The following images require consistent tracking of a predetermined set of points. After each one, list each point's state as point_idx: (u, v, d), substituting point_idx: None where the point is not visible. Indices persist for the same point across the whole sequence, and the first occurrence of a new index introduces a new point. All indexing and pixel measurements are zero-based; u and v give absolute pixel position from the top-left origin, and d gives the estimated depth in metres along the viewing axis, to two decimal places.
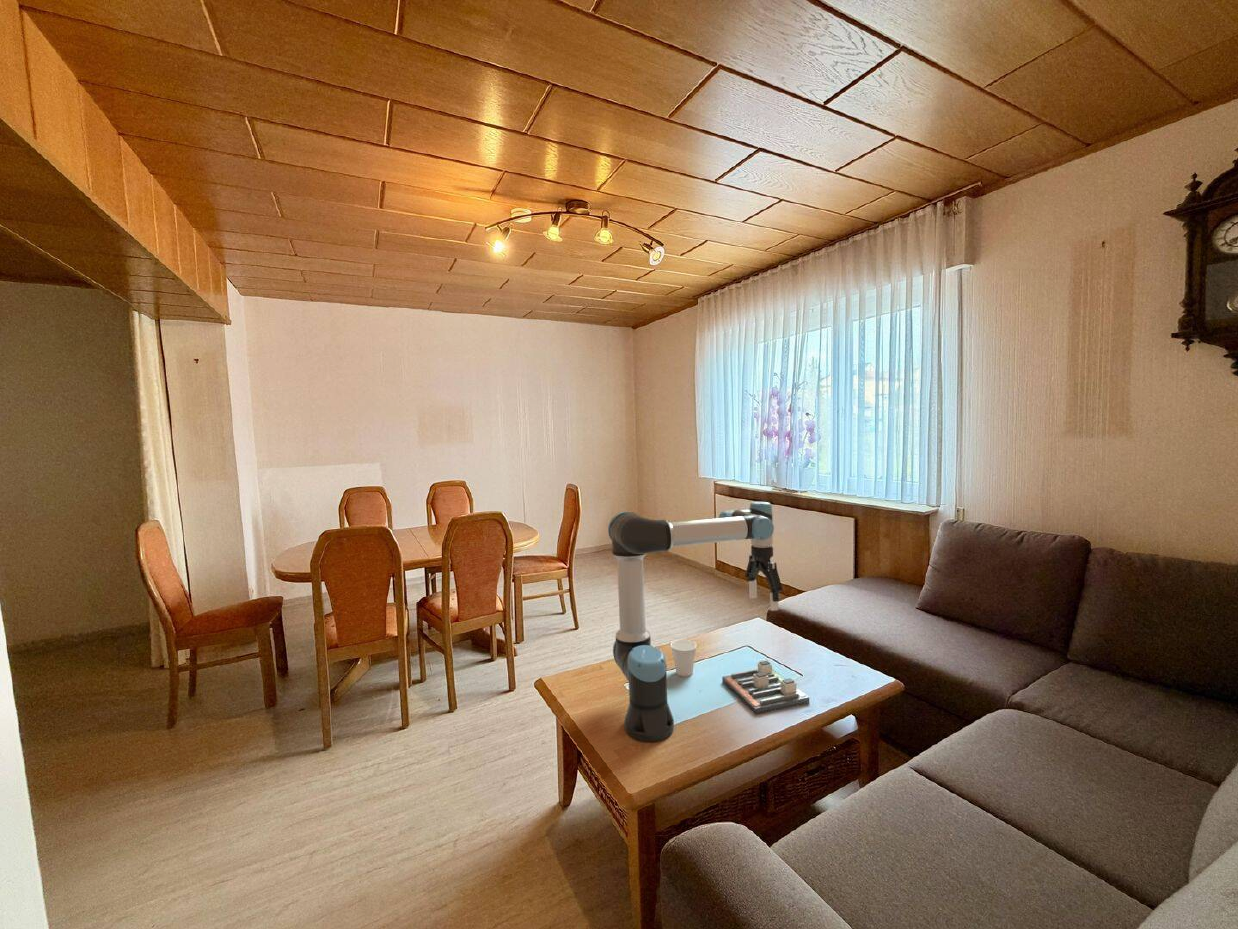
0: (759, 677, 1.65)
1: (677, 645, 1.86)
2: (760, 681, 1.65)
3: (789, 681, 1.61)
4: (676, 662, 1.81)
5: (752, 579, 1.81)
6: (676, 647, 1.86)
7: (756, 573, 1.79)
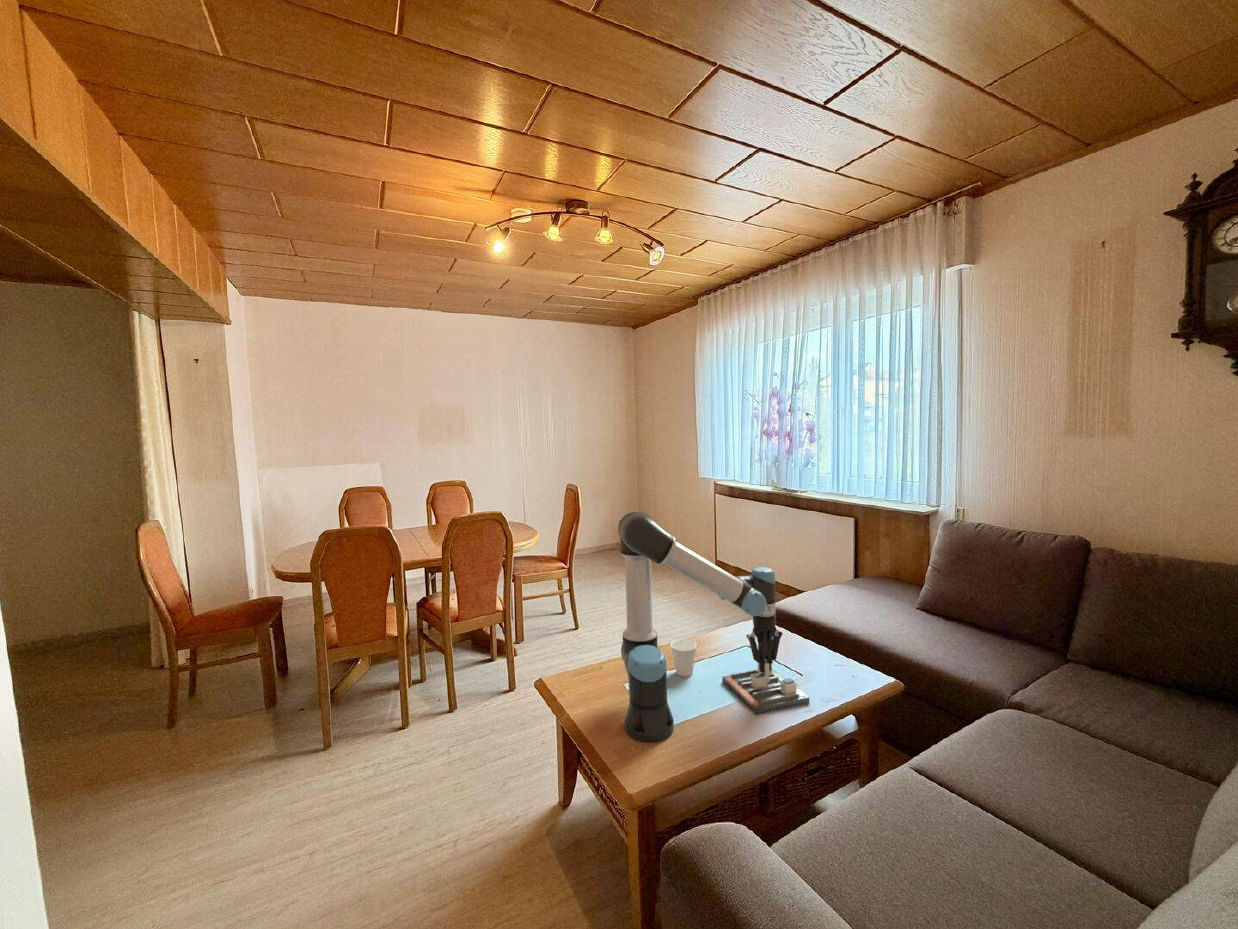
0: (756, 677, 1.65)
1: (677, 645, 1.86)
2: (758, 682, 1.65)
3: (789, 681, 1.61)
4: (676, 662, 1.81)
5: (767, 660, 1.67)
6: (676, 647, 1.86)
7: (767, 649, 1.67)
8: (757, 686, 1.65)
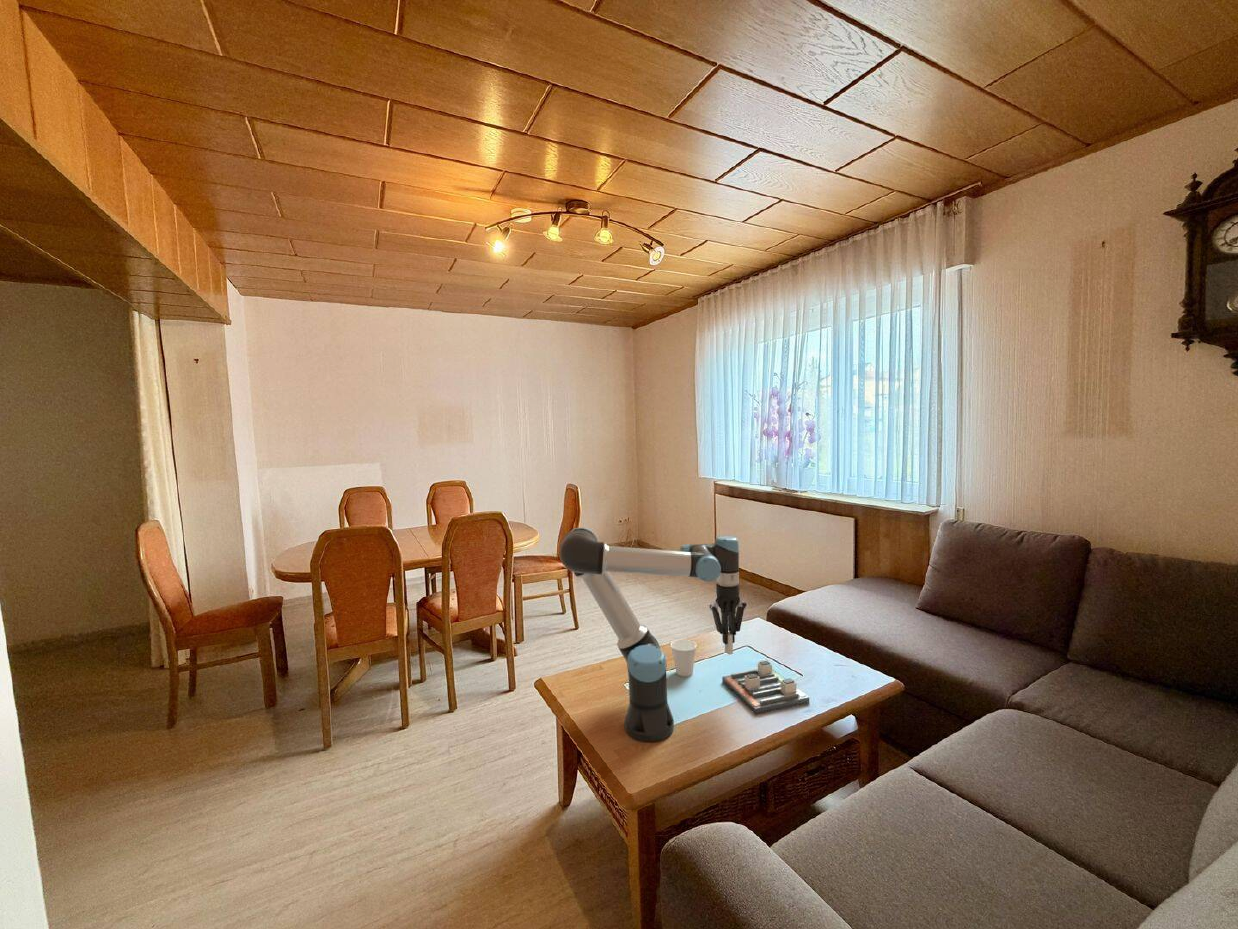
0: (750, 679, 1.64)
1: (677, 645, 1.86)
2: (751, 683, 1.64)
3: (789, 681, 1.61)
4: (676, 662, 1.81)
5: (730, 632, 1.63)
6: (676, 647, 1.86)
7: (730, 620, 1.62)
8: (751, 687, 1.64)
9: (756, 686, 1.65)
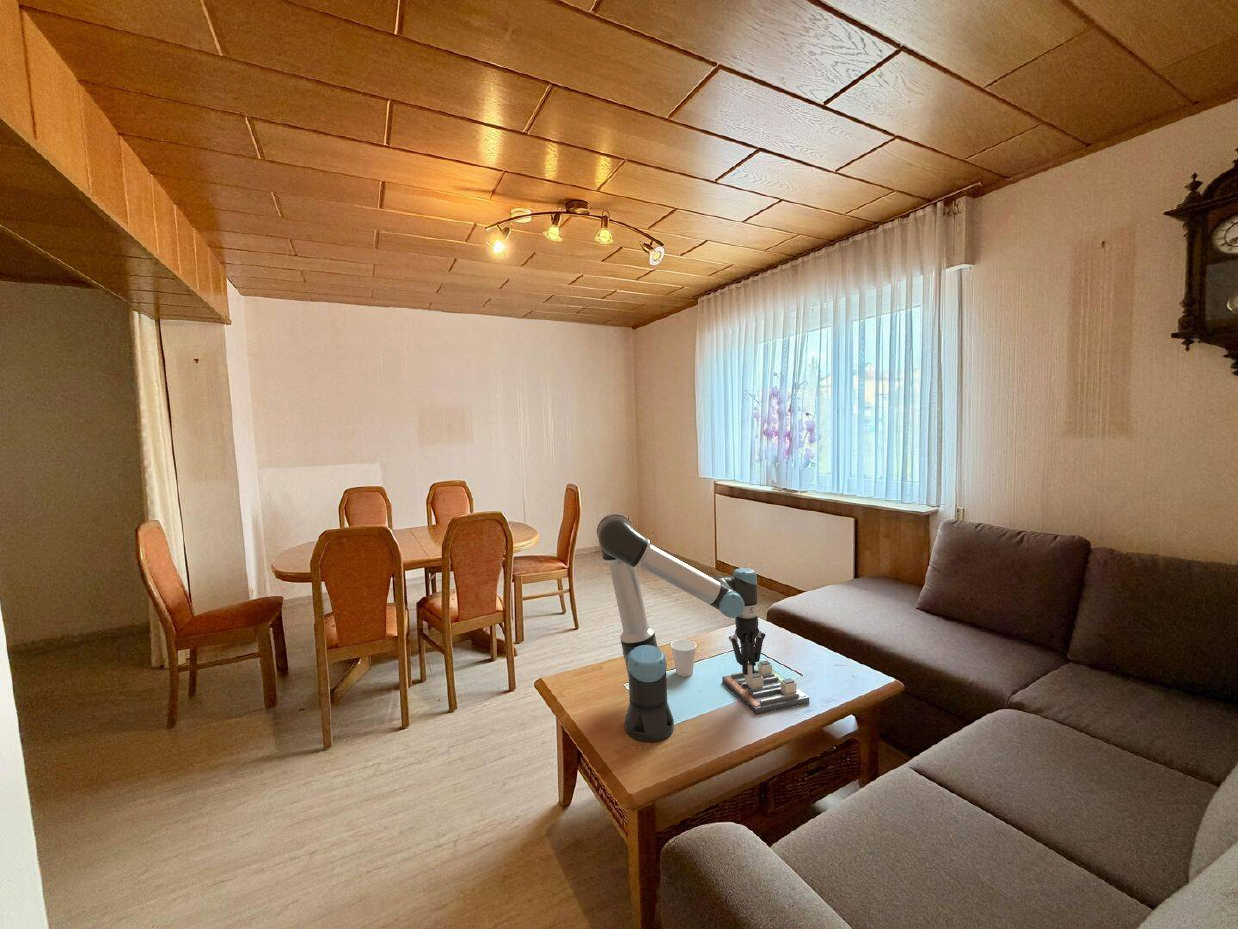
0: (754, 678, 1.65)
1: (677, 645, 1.86)
2: (755, 682, 1.64)
3: (789, 681, 1.61)
4: (676, 662, 1.81)
5: (750, 662, 1.65)
6: (676, 647, 1.86)
7: (750, 651, 1.65)
8: (754, 687, 1.64)
9: (759, 685, 1.65)
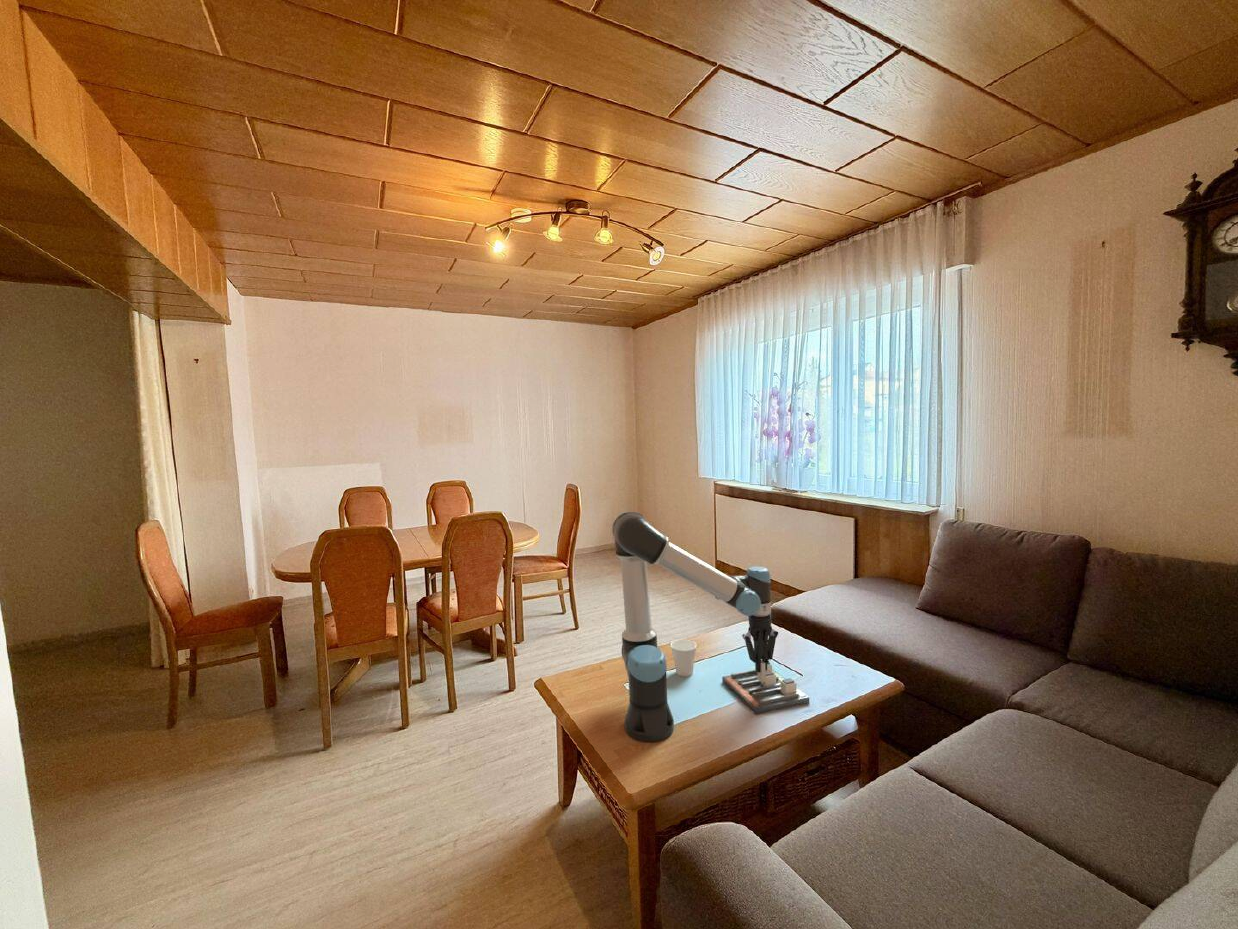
0: (767, 676, 1.66)
1: (677, 645, 1.86)
2: (768, 680, 1.66)
3: (789, 681, 1.61)
4: (676, 662, 1.81)
5: (763, 660, 1.67)
6: (676, 647, 1.86)
7: (763, 649, 1.66)
8: (767, 684, 1.66)
9: (772, 683, 1.66)
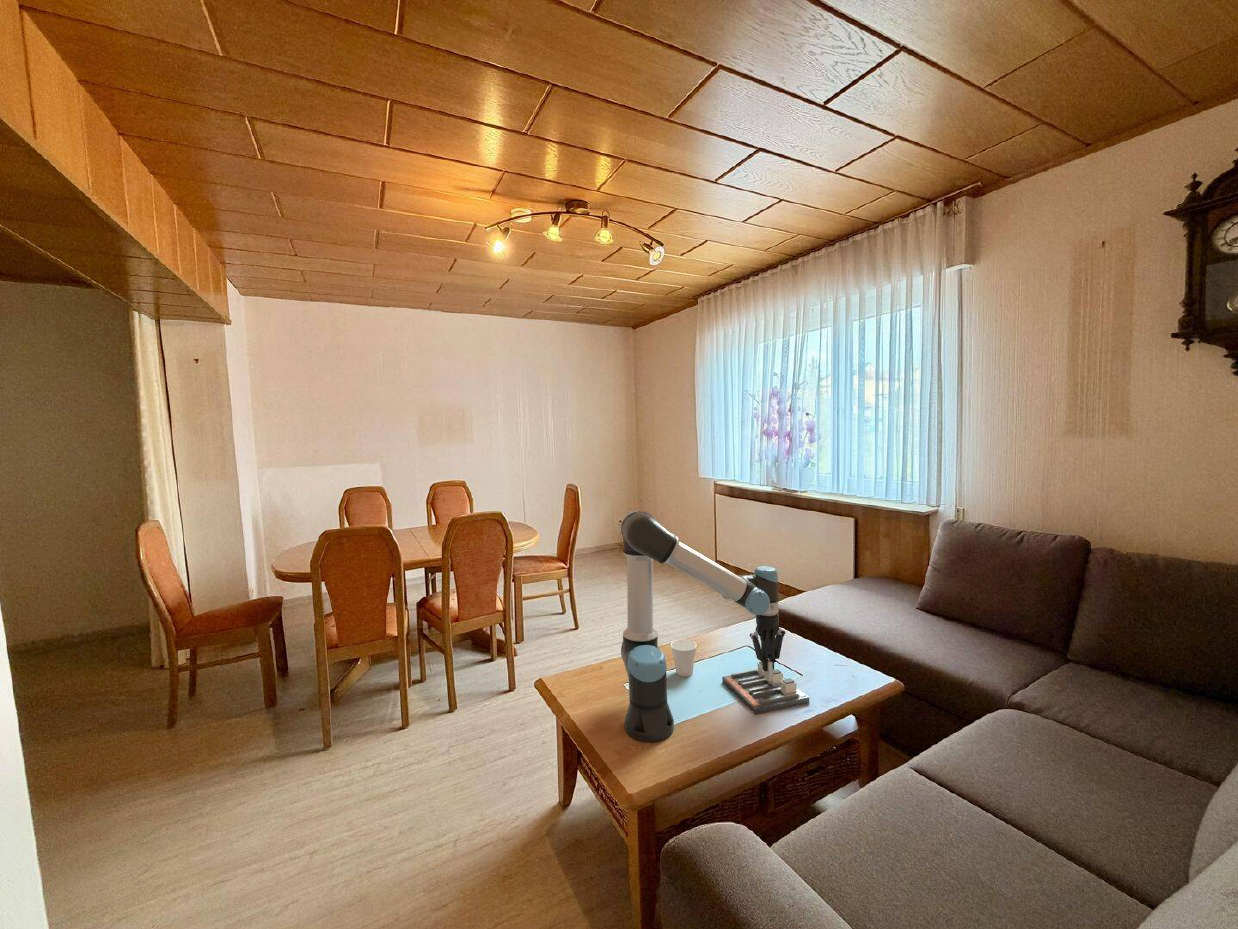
0: (774, 674, 1.67)
1: (677, 645, 1.86)
2: (775, 678, 1.67)
3: (789, 681, 1.61)
4: (676, 662, 1.81)
5: (770, 659, 1.67)
6: (676, 647, 1.86)
7: (770, 648, 1.67)
8: (774, 683, 1.67)
9: (779, 681, 1.67)
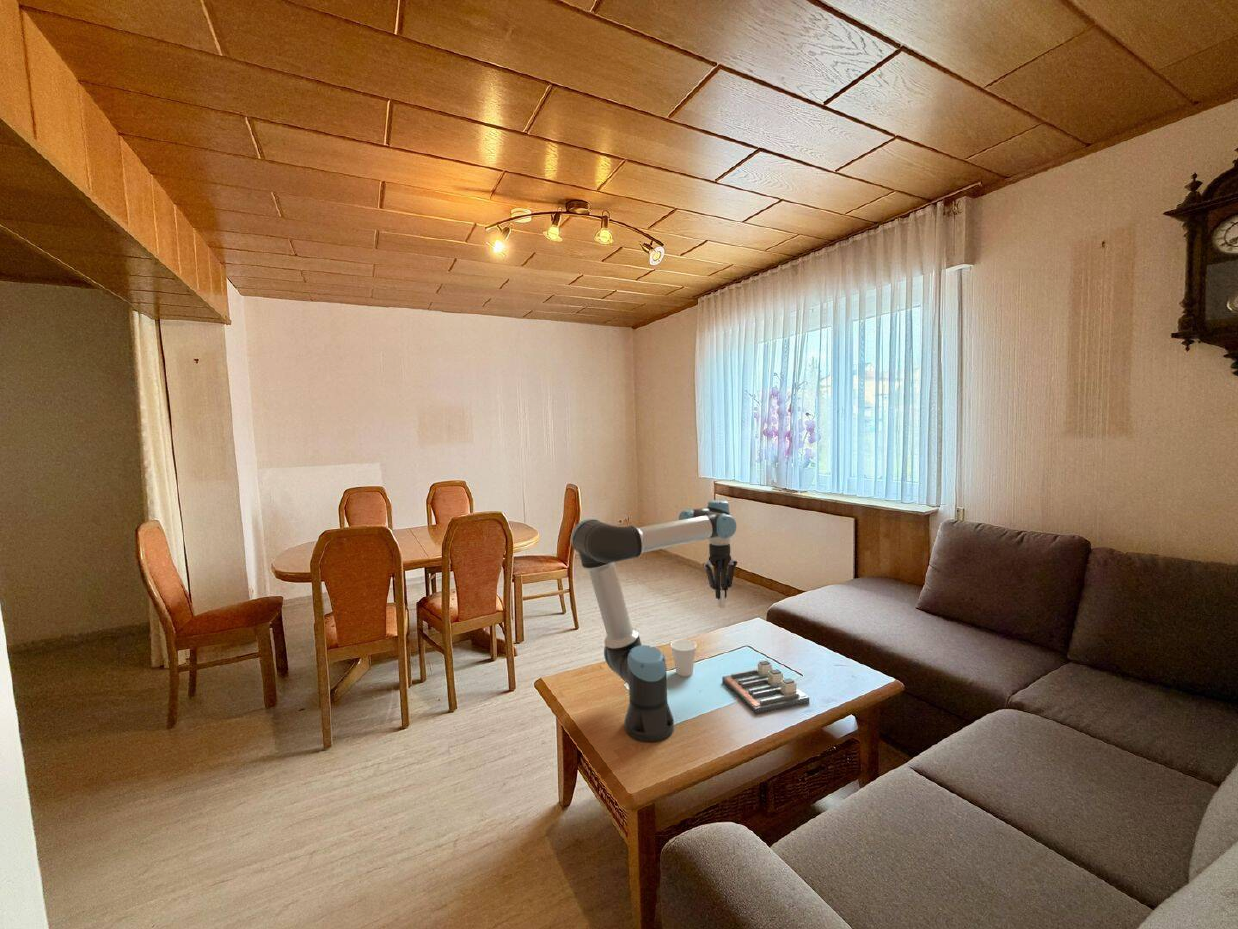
0: (774, 674, 1.67)
1: (677, 645, 1.86)
2: (775, 678, 1.67)
3: (789, 681, 1.61)
4: (676, 662, 1.81)
5: (722, 588, 1.77)
6: (676, 647, 1.86)
7: (722, 577, 1.76)
8: (774, 683, 1.67)
9: (779, 681, 1.67)
